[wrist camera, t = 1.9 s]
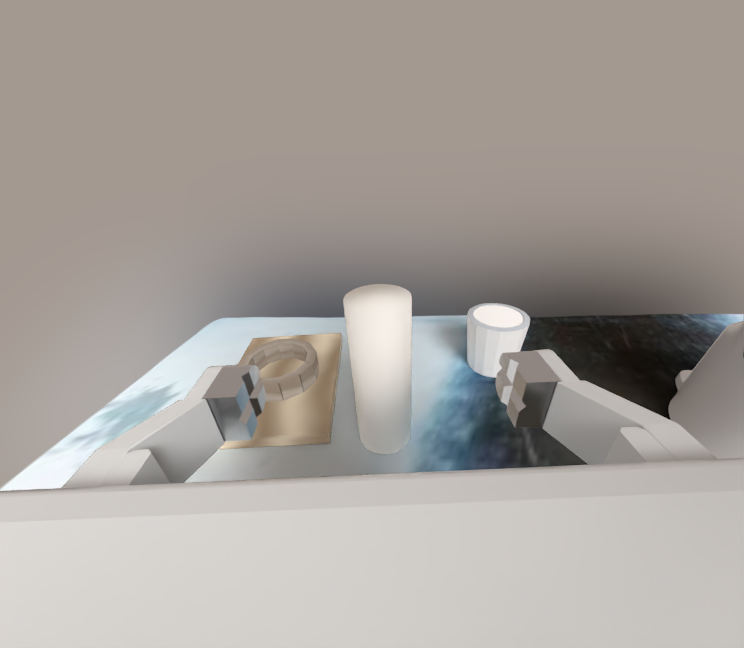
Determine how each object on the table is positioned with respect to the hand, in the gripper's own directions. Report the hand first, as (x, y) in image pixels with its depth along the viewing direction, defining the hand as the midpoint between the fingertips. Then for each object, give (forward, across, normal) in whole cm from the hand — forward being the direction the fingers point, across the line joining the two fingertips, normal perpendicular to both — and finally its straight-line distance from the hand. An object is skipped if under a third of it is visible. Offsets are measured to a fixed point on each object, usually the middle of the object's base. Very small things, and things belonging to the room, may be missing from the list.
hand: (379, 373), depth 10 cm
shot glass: (+23, -14, +18) cm, 33 cm away
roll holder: (+21, +12, +18) cm, 30 cm away
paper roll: (+13, 0, +18) cm, 23 cm away
